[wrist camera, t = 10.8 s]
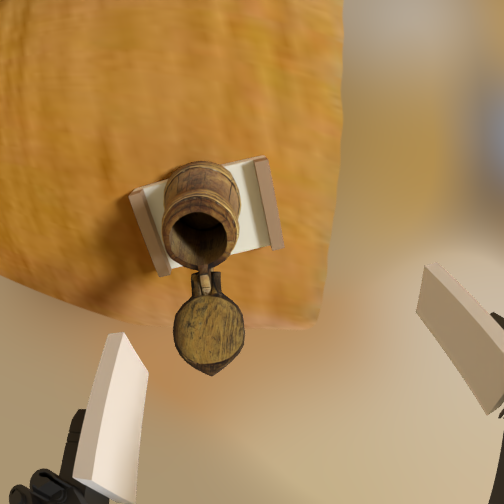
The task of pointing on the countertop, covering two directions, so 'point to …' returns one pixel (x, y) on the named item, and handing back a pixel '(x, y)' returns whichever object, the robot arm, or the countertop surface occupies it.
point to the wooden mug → (204, 261)
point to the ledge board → (250, 219)
